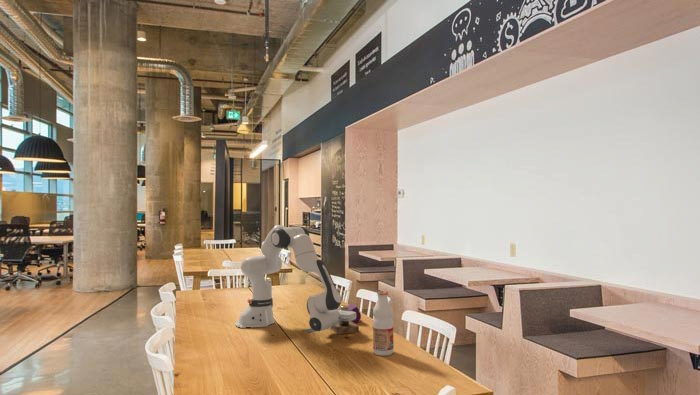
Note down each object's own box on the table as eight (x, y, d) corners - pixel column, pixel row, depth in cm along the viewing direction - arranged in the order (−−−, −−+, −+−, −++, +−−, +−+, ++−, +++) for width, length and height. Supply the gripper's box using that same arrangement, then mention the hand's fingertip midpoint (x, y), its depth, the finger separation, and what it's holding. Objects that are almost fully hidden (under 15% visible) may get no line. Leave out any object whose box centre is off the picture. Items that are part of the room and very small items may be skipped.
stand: (337, 334, 239) (337, 328, 239) (330, 328, 250) (330, 323, 250) (358, 331, 243) (358, 326, 243) (350, 326, 254) (350, 320, 254)
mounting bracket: (336, 335, 257) (363, 319, 262) (329, 322, 256) (356, 306, 261) (331, 331, 266) (357, 315, 271) (325, 318, 265) (351, 303, 270)
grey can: (341, 326, 243) (340, 307, 243) (337, 324, 248) (337, 305, 248) (350, 325, 245) (350, 306, 245) (347, 322, 250) (346, 304, 250)
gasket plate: (308, 334, 242) (308, 333, 242) (301, 331, 247) (301, 330, 247) (319, 331, 246) (319, 330, 246) (312, 329, 252) (312, 328, 252)
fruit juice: (370, 350, 212) (370, 290, 213) (389, 348, 214) (389, 289, 215) (376, 357, 203) (375, 294, 203) (396, 355, 205) (395, 293, 206)
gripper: (349, 313, 230) (361, 307, 242) (315, 309, 240) (329, 303, 252) (349, 325, 230) (361, 319, 242) (315, 321, 240) (329, 315, 252)
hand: (344, 311), depth 247 cm, fingers open, 8 cm apart
